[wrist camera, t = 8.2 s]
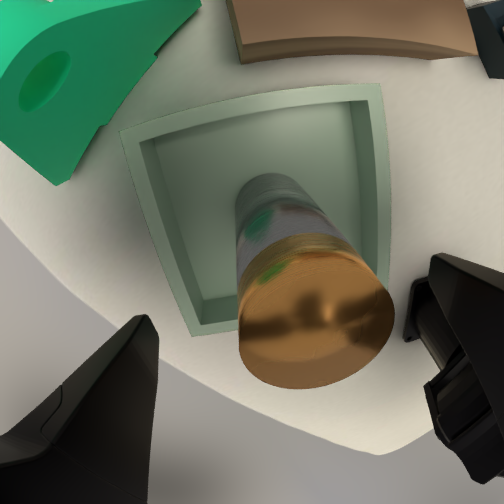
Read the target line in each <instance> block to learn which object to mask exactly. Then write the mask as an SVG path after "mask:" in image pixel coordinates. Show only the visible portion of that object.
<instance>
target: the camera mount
mask: <svg viewBox="0 0 504 504" xmlns="http://www.w3.org/2000/svg"><path fill="white" fill-rule="evenodd" d="M201 6H202V4H201V1H200V0H54V1H53V2H49V1H47V0H2V1H0V141H1V142H3V143H4V144H5V145H6V146H7V147H8V148H10V149H11V150H12V151H13V152H14V153H15V154H17V155H18V156H19V157H20V158H21V159H23V160H24V161H25V162H26V163H27V164H29V165H30V166H31V167H32V168H34V169H35V170H36V171H37V172H38V173H40V174H41V175H42V176H43V177H45V178H46V179H47V180H48V181H50V182H51V183H52V184H54V185H55V186H57V185H59V184H61V183H63V182H65V181H67V180H69V179H70V177H71V175H72V173H73V171H74V170H75V168H76V166H77V164H78V162H79V160H80V158H81V157H82V155H83V153H84V151H85V150H86V148H87V146H88V145H89V143H90V141H91V139H92V138H93V136H94V135H95V133H96V131H97V130H98V128H99V127H100V126H103V125H107V124H108V122H109V121H110V119H111V118H112V116H113V115H114V113H115V112H116V111H117V109H118V108H119V106H120V105H121V104H122V102H123V101H124V99H125V98H126V97H127V95H128V94H129V93H130V91H131V90H132V89H133V87H134V86H135V85H136V83H137V82H138V81H139V80H140V78H141V77H142V76H143V75H144V73H145V72H146V71H147V70H148V69H149V67H150V66H151V65H152V64H153V63H154V62H155V60H156V59H157V58H158V57H157V56H155V55H154V53H155V52H156V51H157V50H158V49H159V48H160V46H161V45H162V44H163V43H164V42H165V41H166V40H167V39H168V38H169V37H170V36H171V35H172V34H173V33H174V32H175V31H176V30H177V29H178V28H179V27H180V26H181V25H182V24H183V23H184V22H185V21H186V20H187V19H188V18H189V17H190V16H191V15H192V14H193V13H194V12H195V11H196V10H197V9H198V8H200V7H201Z"/></svg>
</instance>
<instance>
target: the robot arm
mask: <svg viewBox="0 0 504 504" xmlns="http://www.w3.org/2000/svg"><path fill="white" fill-rule="evenodd" d="M418 286H419V287H418ZM419 338H420V339H421V340H422V342H423V344H424V345H425V347H426V348H427V350H428V351H429V353H430V355H431V356H432V358H433V359H434V361H435V363H436V364H437V366H438V368H439V369H440V372H439V373H438V374H437V375H436V376H435V377H434V378H433V379H432V380H431V381H428V382H427V383H426V384H425V385H424V386H423V387H424V391H425V394H426V395H425V396H426V400H427V403H428V407H429V410H430V414H431V418H432V422H433V426H434V430H435V434H436V436H437V437H438V439H439V440H441V441H442V443H443V444H444V445H445V446H446V447H447V448H449V449H450V450H452V451H454V453H456V454H457V456H458V457H459V458H460V460H462V462H463V464H464V466H465V467H466V469H467V471H468V473H469V475H470V477H471V479H472V480H474V481H476V482H478V483H480V484H485V483H487V482H488V481H490V480H491V479H493V478H494V477H496V476H498V477H503V478H504V273H502V272H499V271H496V270H493V269H491V268H488V267H485V266H482V265H479V264H476V263H473V262H470V261H467V260H464V259H461V258H458V257H455V256H452V255H449V254H446V253H439V254H435V255H433V256H432V257H431V261H430V268H429V274H428V277H427V278H424V279H420V280H417V281H415V282H414V283H413V285H412V289H411V296H410V302H409V308H408V314H407V319H406V324H405V329H404V334H403V339H404V341H405V342H406V343H407V342H411V341H414V340H416V339H419ZM158 359H159V336H158V333H157V331H156V329H155V327H154V325H153V323H152V321H151V319H150V318H149V316H148V315H146V314H143V315H136V316H134V317H133V318H132V319H131V320H129V321H128V322H127V323H126V324H125V325H124V326H123V327H122V328H121V329H119V330H118V331H117V332H116V333H115V334H114V335H113V336H112V337H111V338H110V339H109V340H108V341H107V342H105V343H104V344H103V345H102V346H101V347H100V348H99V349H98V350H97V351H96V352H95V353H94V354H93V355H91V356H90V357H89V358H88V359H87V360H86V361H85V362H84V363H83V364H82V365H81V366H80V367H79V368H78V369H77V370H76V371H74V372H73V374H71V375H70V376H69V377H68V378H67V379H66V380H65V381H64V382H63V383H62V385H60V386H59V387H58V388H57V389H56V390H55V391H54V392H53V393H51V395H49V396H48V397H47V398H46V399H45V400H44V401H43V402H42V403H41V404H40V405H39V406H37V407H36V408H35V409H34V410H33V411H31V412H30V413H29V414H28V415H27V416H26V417H24V418H23V419H22V420H21V421H20V422H19V423H17V424H16V425H15V426H14V427H13V428H12V429H11V430H9V431H8V432H7V433H5V434H3V435H1V436H0V504H147V496H148V476H149V460H150V448H151V437H152V427H153V418H154V409H155V401H156V393H157V384H158Z"/></svg>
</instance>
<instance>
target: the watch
mask: <svg viewBox="0 0 504 504" xmlns="http://www.w3.org/2000/svg"><path fill="white" fill-rule="evenodd" d="M466 10H467V13H468V17H469V20H470V23H471V27H472V31H473V34H474V38H475V42H476V47H477V51H478V54H479V56H480V58H481V61H482V63H483V65H484V67H485V69H486V72H487V74H488V76H489V78H495V79H504V0H496V1H490V2H485V3H481V4H477V5H474V6H472V7H469V8H466Z"/></svg>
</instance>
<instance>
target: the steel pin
mask: <svg viewBox="0 0 504 504" xmlns="http://www.w3.org/2000/svg"><path fill="white" fill-rule="evenodd" d="M235 233H236V272H237V304H238V332H239V352H240V356H241V359H242V361H243V363H244V365H245V366H246V368H247V369H248V370H249V371H250V372H251V373H252V374H253V375H254V376H255V377H257V378H258V379H260V380H261V381H263V382H265V383H268V384H270V385H273V386H277V387H281V388H287V389H310V388H317V387H322V386H325V385H329V384H332V383H335V382H338V381H340V380H342V379H345V378H347V377H349V376H350V375H352V374H354V373H356V372H357V371H359V370H360V369H362V368H363V367H364V366H366V365H367V364H368V363H369V362H370V361H371V360H372V359H373V358H374V357H375V356H376V355H377V354H378V353H379V352H380V351H381V349H382V348H383V347H384V345H385V344H386V342H387V340H388V338H389V336H390V334H391V331H392V329H393V325H394V318H395V310H394V304H393V301H392V298H391V296H390V294H389V293H388V291H387V290H386V289H385V287H384V286H383V285H382V283H381V282H380V281H379V279H378V278H377V277H376V275H375V274H374V273H373V271H372V270H371V269H370V268H369V266H368V265H367V264H366V263H365V261H364V260H363V259H362V257H361V256H360V255H359V254H358V252H357V251H356V250H355V249H354V247H353V246H352V245H351V244H350V243H349V241H348V240H347V239H346V238H345V236H344V235H343V234H342V233H341V232H340V230H339V229H338V228H337V227H336V226H335V225H334V223H333V222H332V221H331V220H330V219H329V217H328V216H327V215H326V214H325V213H324V212H323V211H322V209H321V208H320V207H319V206H318V205H317V204H316V203H315V201H314V200H313V199H312V198H311V197H310V196H309V195H308V194H307V192H306V191H305V190H304V189H303V188H302V187H301V186H300V185H299V184H298V183H297V182H296V181H295V180H294V179H292V178H291V177H289V176H286V175H284V174H280V173H265V174H261V175H258V176H256V177H254V178H252V179H251V180H249V181H248V182H247V183H246V184H245V185H244V186H243V187H242V189H241V190H240V192H239V194H238V196H237V199H236V202H235Z"/></svg>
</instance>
